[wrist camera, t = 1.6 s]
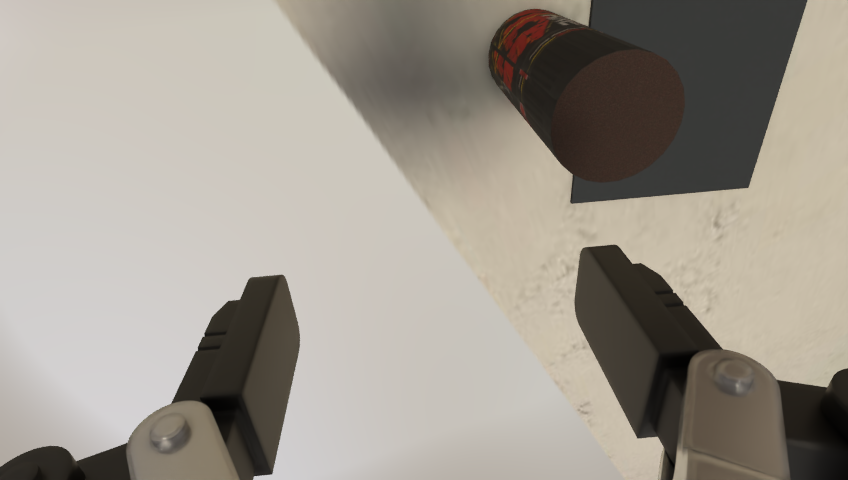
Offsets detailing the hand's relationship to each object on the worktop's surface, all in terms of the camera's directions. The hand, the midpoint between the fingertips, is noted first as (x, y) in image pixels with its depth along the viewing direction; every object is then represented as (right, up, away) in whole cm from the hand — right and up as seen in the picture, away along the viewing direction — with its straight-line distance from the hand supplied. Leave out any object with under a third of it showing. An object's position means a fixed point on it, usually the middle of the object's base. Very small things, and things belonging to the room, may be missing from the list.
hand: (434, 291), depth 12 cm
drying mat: (+19, +14, +24) cm, 33 cm away
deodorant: (+7, +14, +22) cm, 28 cm away
